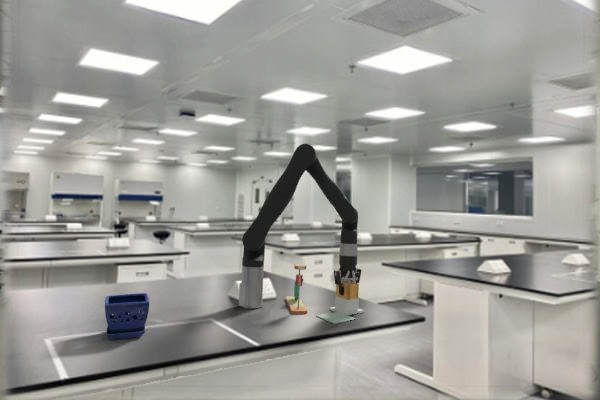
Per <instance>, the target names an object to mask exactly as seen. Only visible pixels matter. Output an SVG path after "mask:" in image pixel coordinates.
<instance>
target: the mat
mask: <svg viewBox="0 0 600 400" xmlns="http://www.w3.org/2000/svg"><path fill="white" fill-rule="evenodd" d="M316 317H318V318H319V319H321V320H324V321H327V322H329V323H331V324H333V325H335V324H340V323H345V322H350V320H352V321H355V320H354V319H356V320H357V318H355V317H353V316H351V315H345V314H342V313H339V312H334V311H333V312H328V313H323V314H322V313H321V314H317V315H316Z"/></svg>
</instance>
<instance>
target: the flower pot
mask: <svg viewBox="0 0 600 400" xmlns="http://www.w3.org/2000/svg"><path fill="white" fill-rule="evenodd" d="M149 311H150V298H149V296H148V293H147V292H141V293H126V294H115V295H107V296H106V297H105V299H104V314H105V321H106V323H107V328H106V332H105V336H106V338H107V339H108V340H112V341H113V340H120V339H121V340H122V339H132V338H139V337H142V336H144V334H145V332H146V322H147V319H148V316H149Z"/></svg>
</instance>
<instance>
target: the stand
mask: <svg viewBox="0 0 600 400" xmlns="http://www.w3.org/2000/svg"><path fill="white" fill-rule="evenodd" d="M345 283H346V284H350V278H348V279H347V281H346V282H345ZM359 298H360V297H358V298H357V299H350V300H348V299H345V298H342V297H338V296H336V295H335V296H334V306H331V307H329V310H330V311H331V312H333V313H334V312H339V313H342V314H345V315H347V316H351V315H352V314H353V315H358V314H363V313H364V311H365V310H364V309H362V308H359V303H360V302H359V301H360V299H359ZM357 313H358V314H357Z"/></svg>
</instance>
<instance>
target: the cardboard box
mask: <svg viewBox="0 0 600 400" xmlns="http://www.w3.org/2000/svg"><path fill="white" fill-rule="evenodd" d="M335 285H336V284H335ZM335 287H336V288H335V296H338V297H342V298H345V299H348V300H350V299H357V298H359V289H360V288H359V287H360V286H359V283H353V282H350V284H346V283H345V284H344V295H340V294H339V285H336V286H335Z"/></svg>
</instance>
